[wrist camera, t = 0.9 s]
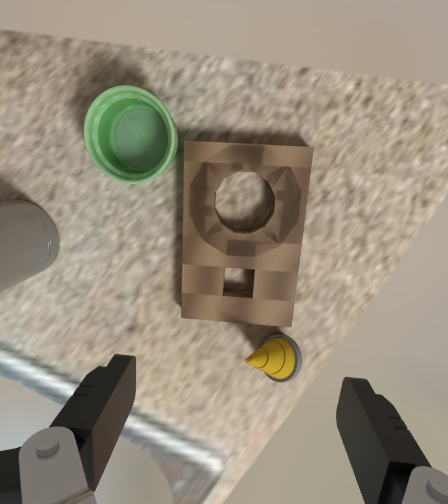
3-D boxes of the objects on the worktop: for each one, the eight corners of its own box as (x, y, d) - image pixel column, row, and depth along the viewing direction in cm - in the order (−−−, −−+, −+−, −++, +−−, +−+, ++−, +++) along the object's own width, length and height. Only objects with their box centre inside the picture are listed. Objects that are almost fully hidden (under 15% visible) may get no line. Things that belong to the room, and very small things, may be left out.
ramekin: (178, 90, 33) (168, 79, 29) (187, 178, 36) (179, 180, 31) (96, 98, 34) (74, 89, 30) (110, 184, 37) (92, 187, 32)
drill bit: (274, 373, 42) (223, 380, 35) (278, 331, 43) (228, 331, 36) (312, 384, 38) (262, 394, 31) (315, 338, 39) (268, 339, 32)
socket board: (184, 310, 40) (181, 317, 38) (188, 141, 34) (184, 140, 33) (289, 319, 39) (291, 327, 37) (309, 147, 34) (313, 147, 32)
